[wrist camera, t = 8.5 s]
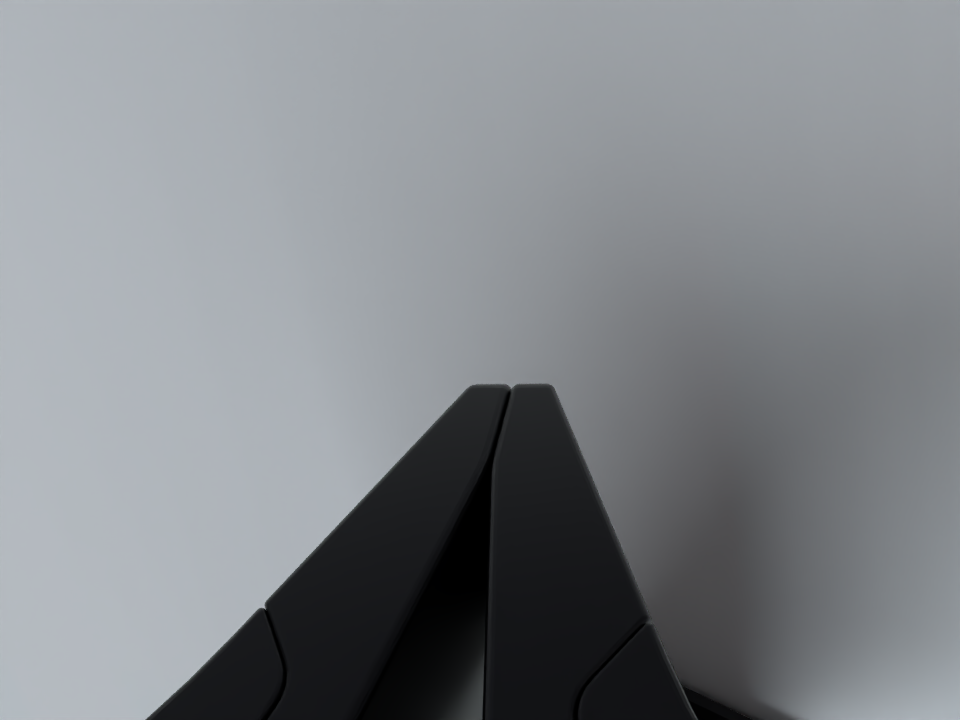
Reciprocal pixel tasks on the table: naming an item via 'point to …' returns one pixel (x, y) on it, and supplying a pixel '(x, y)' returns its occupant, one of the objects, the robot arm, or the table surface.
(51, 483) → the table surface
